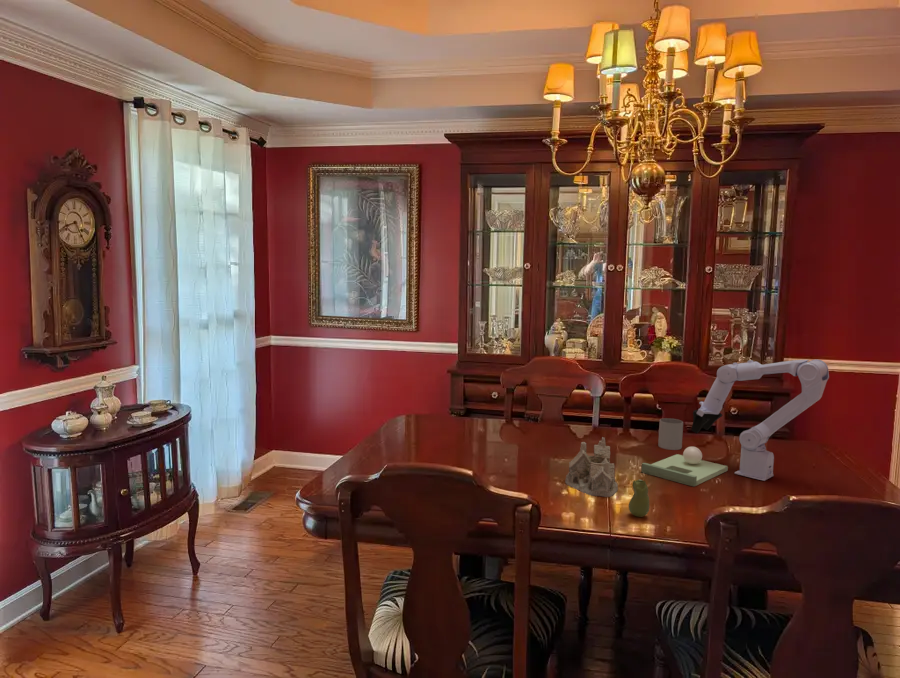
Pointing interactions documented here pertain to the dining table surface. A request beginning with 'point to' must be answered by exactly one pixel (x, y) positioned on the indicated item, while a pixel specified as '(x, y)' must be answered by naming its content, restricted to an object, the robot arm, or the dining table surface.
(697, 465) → the putting mat
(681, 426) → the cup
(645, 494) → the pear
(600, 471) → the ceramic cottage
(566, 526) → the dining table surface
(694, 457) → the golf ball
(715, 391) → the robot arm
